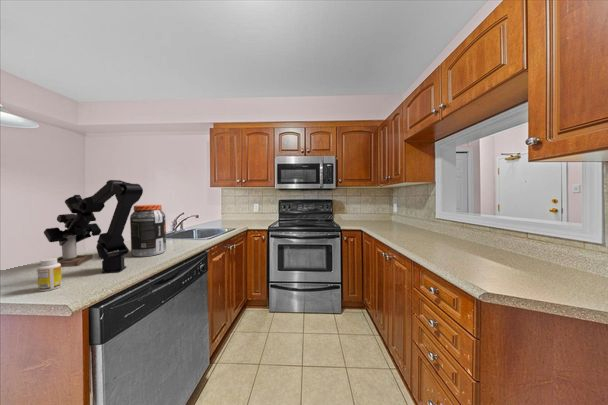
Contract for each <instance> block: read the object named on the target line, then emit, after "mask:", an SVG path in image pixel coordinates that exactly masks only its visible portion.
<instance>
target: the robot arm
mask: <svg viewBox="0 0 608 405" xmlns="http://www.w3.org/2000/svg"><path fill="white" fill-rule="evenodd" d="M143 194H144V189H143V186H141V184H139V183H132V182H126V181H124V180H120V179H109V180H107V181H106V183H105V184H104V185H103V186H102V187H100V189H98V191H96V192H95V193H94V194H93V195H91V196H88V197H84V198H82V196H81V195H80V194H74V195H73V196H71V197H68V198H65V200H64V203H65V205H66V207H67V208H68V210H69V211H70V212H71V213H65V214H59V215H57V217H56V221H57V222H58V223H60V224H61V223H63V224H64V228H65V229H64V230H60V228H59V227H50V228H49V227H48V228H45V230H43V234H44V236H45V238H46V239H47V241H48V242H49V243H57V242H58V243H59V244H58V245H59V246H60V247H62V245H63V244H64V243H66V242H67V241H68V239H67V237H68V236H70V235H72V236H75V235H76V244H77V243H79V242H81V241H83V240H86V239H89V238H91V237H92V236H93V237H95V236H98V240H97V241H96V243H97V244H96V247H95V249H96V251H97V255H98V258H99V259H100V260H102V261H101V267H102V268H101V269H102V271H101V274H110V273H121V272H122V271H123V270H125V269H126V268H127V265H125V255H127V254H129V250H130V249H129V247H127V245H126V244H125V238H124V236H123V233H124V230H125V227H126V224H127V221H128V219H129V216H130V213H131V211H132V208H133V207H134V206H135V204H136V203H137V202H139V201H140V199H141V197H142V196H143ZM114 196H115V199H116V201H117V203H116V206H115V209H114V212H113V214H112V217H111V219H110V220H111V221H110V224H109V226H108V229H107V231H106V232H105V233H104V232H103V233H102V229H101V228H100V226H99V225H98V224H97V223H96V221H97V219H96V218H97V217H96V216H95V213H101V211H102V210H103V209H104V208H105V207H106V206H105V205H106V204H105V203H106V202H108V201H109V200H110V199H111V198H112V197H114ZM91 222H93V223H91Z"/></svg>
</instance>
